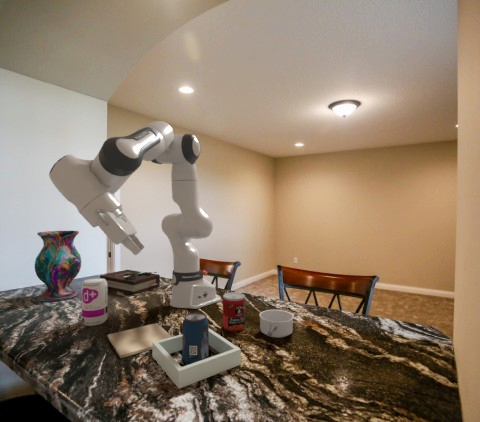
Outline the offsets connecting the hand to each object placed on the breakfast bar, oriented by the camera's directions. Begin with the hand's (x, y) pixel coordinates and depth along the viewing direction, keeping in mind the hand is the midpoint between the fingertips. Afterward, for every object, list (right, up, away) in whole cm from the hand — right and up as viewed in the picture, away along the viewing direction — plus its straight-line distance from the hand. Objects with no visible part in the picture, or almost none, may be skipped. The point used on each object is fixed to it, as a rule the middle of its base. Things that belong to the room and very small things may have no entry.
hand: (140, 251), depth 75 cm
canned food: (+24, -30, +24) cm, 45 cm away
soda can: (+14, -30, +2) cm, 33 cm away
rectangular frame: (+14, -30, +2) cm, 33 cm away
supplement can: (-26, -30, +28) cm, 48 cm away
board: (-5, -30, +14) cm, 33 cm away
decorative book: (-31, -30, +74) cm, 86 cm away
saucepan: (+37, -30, +16) cm, 50 cm away
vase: (-58, -29, +58) cm, 87 cm away
